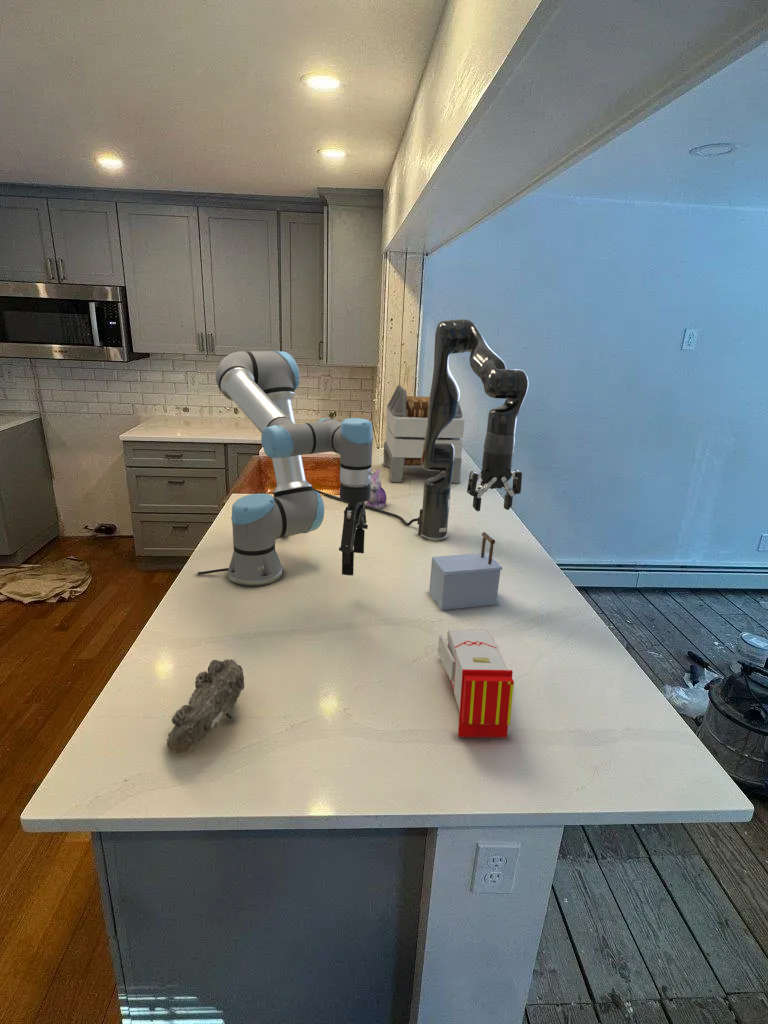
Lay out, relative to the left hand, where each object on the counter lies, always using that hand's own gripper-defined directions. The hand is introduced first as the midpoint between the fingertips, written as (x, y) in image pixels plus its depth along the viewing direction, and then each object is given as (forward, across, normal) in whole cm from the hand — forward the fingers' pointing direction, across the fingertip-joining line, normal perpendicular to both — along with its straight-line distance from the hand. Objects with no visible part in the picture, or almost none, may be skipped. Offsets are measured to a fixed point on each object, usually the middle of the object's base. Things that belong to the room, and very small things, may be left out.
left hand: (353, 563), depth 145 cm
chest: (+13, +12, -28) cm, 34 cm away
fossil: (+13, -46, +17) cm, 51 cm away
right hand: (-13, +15, -34) cm, 39 cm away
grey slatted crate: (+13, +136, -4) cm, 137 cm away
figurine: (+13, +82, +8) cm, 84 cm away
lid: (+3, +13, -29) cm, 31 cm away
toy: (+13, -28, -31) cm, 44 cm away
